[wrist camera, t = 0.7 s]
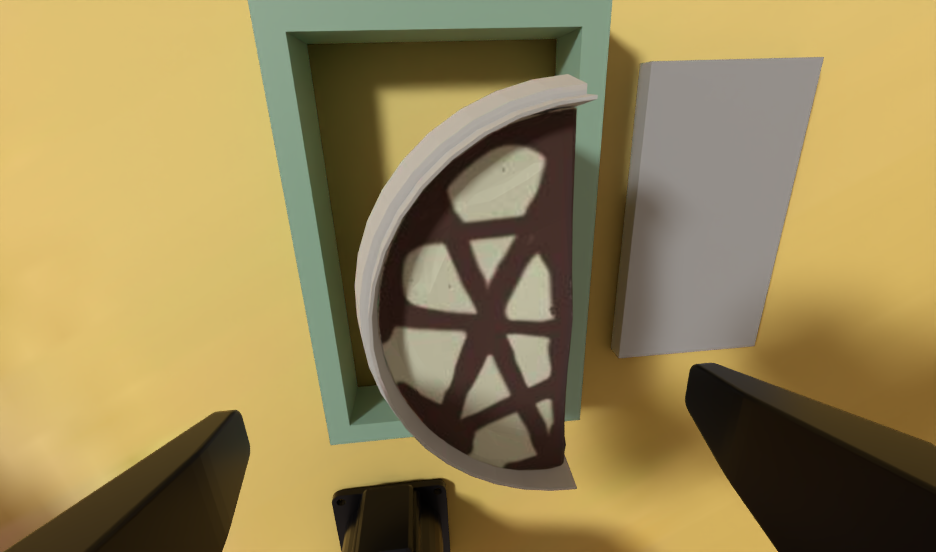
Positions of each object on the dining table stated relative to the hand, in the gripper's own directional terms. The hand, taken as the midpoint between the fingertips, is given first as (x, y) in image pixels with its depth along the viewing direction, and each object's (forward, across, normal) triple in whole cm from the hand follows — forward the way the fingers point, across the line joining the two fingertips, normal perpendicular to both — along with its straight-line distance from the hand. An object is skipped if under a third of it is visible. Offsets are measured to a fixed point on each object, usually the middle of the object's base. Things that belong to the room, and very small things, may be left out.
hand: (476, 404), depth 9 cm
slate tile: (+13, -13, 0) cm, 18 cm away
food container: (+13, 0, 0) cm, 13 cm away
